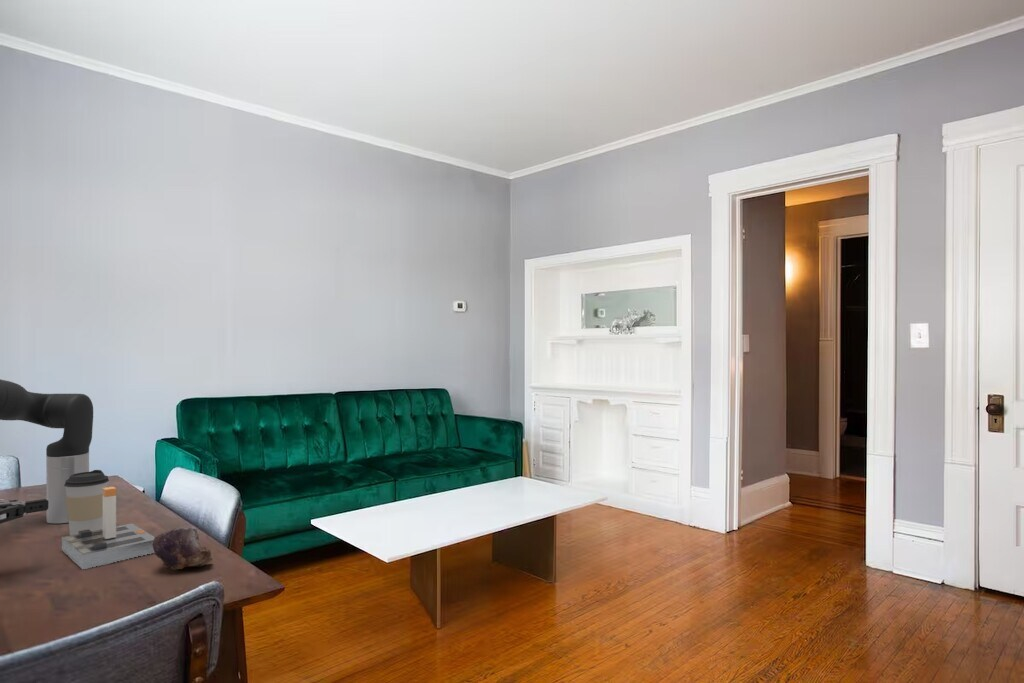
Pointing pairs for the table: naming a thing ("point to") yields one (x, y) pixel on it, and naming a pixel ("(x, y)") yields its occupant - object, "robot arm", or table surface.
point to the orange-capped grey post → (109, 512)
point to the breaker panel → (107, 546)
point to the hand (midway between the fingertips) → (47, 504)
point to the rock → (181, 548)
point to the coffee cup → (85, 500)
